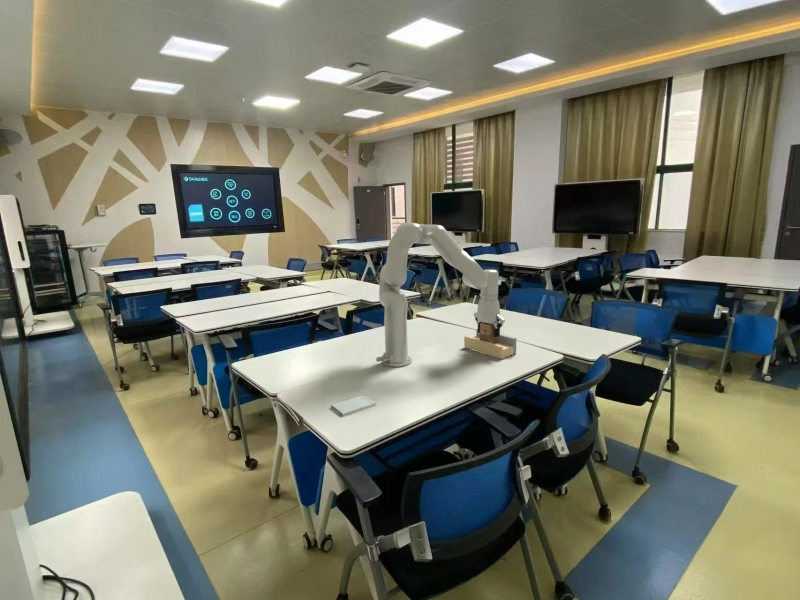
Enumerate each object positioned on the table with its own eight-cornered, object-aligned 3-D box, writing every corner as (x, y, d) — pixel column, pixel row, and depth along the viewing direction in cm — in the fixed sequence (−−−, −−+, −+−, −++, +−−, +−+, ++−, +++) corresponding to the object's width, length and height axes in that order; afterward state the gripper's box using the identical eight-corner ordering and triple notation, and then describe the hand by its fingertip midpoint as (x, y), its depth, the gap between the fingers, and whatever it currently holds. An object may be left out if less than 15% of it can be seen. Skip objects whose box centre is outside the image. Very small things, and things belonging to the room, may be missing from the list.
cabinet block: (488, 345, 181) (488, 326, 179) (478, 342, 186) (478, 323, 184) (497, 342, 185) (497, 323, 183) (487, 340, 189) (487, 321, 188)
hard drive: (342, 413, 128) (375, 402, 135) (330, 404, 134) (362, 394, 142) (342, 418, 128) (375, 406, 135) (331, 409, 135) (363, 398, 142)
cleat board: (500, 359, 175) (501, 342, 173) (464, 347, 192) (464, 332, 191) (516, 354, 181) (516, 337, 179) (479, 343, 198) (479, 328, 197)
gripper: (469, 295, 186) (468, 331, 189) (498, 301, 172) (497, 340, 176) (480, 293, 190) (479, 329, 194) (510, 299, 177) (509, 336, 180)
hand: (488, 334), depth 185 cm, fingers open, 9 cm apart
